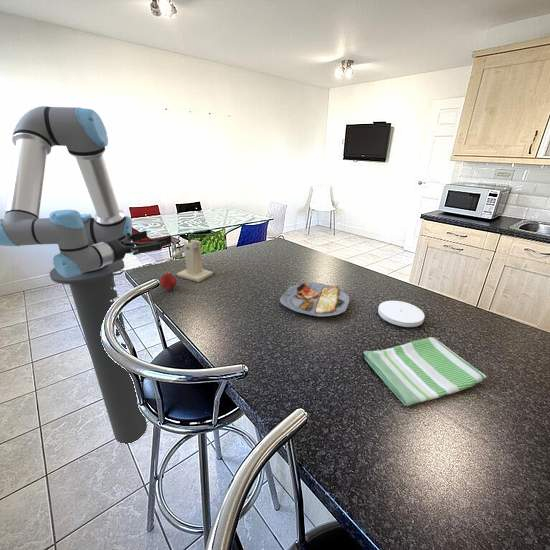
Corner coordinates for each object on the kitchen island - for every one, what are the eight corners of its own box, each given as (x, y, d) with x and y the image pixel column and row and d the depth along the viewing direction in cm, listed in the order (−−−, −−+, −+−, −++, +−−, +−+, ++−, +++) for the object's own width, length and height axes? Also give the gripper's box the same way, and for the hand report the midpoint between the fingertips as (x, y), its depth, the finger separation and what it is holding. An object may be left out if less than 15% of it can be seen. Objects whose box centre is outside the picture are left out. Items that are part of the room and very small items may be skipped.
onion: (158, 291, 110) (154, 272, 107) (170, 286, 114) (167, 267, 111) (168, 295, 107) (165, 276, 104) (180, 289, 112) (178, 270, 108)
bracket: (177, 275, 123) (172, 242, 117) (192, 268, 130) (188, 237, 124) (198, 282, 118) (195, 247, 112) (213, 274, 125) (210, 241, 119)
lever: (173, 261, 125) (169, 253, 125) (179, 258, 128) (175, 251, 128) (193, 250, 117) (189, 242, 116) (199, 247, 120) (195, 239, 119)
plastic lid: (368, 310, 100) (369, 304, 99) (400, 304, 105) (402, 297, 104) (398, 333, 88) (399, 326, 87) (432, 324, 93) (434, 318, 92)
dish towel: (360, 356, 78) (361, 348, 77) (430, 341, 85) (432, 333, 84) (406, 409, 63) (408, 399, 62) (487, 386, 69) (491, 377, 68)
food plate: (294, 283, 119) (294, 275, 118) (352, 293, 112) (353, 285, 110) (272, 312, 98) (272, 303, 96) (342, 328, 90) (343, 318, 89)
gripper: (88, 255, 105) (138, 240, 122) (134, 270, 95) (182, 251, 112) (83, 235, 102) (135, 223, 119) (130, 248, 92) (180, 232, 109)
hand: (158, 236), depth 116 cm, fingers open, 13 cm apart
